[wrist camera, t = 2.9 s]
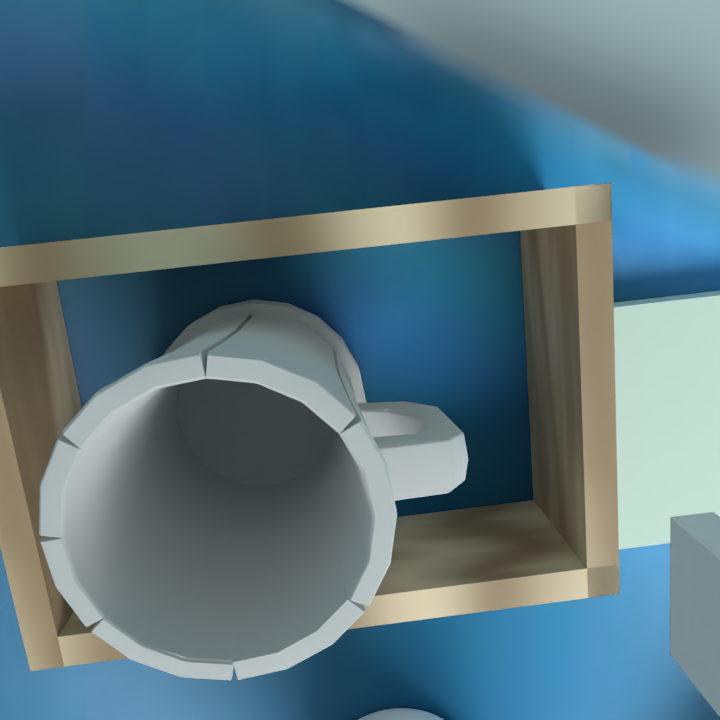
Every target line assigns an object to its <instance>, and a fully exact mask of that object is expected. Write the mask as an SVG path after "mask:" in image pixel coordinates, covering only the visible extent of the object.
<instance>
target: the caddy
mask: <svg viewBox="0 0 720 720" xmlns="http://www.w3.org/2000/svg"><path fill="white" fill-rule="evenodd" d="M512 231H520V242H521V262H522V282H523V302H524V321H525V341H526V361H527V381H528V400H529V420H530V440H531V460H532V479H533V499H534V500H530V501H522V502H514V503H506V504H498V505H490V506H482V507H474V508H466V509H458V510H450V511H442V512H434V513H426V514H418V515H410V516H402V517H397V519H396V527H395V534H394V542H393V549H392V556H391V564H390V566H389V568H388V570H387V572H386V574H385V576H384V578H383V580H382V582H381V584H380V586H379V588H378V590H377V592H376V594H375V596H374V598H373V600H372V602H371V604H370V605H369V606H366V605H364V607H365V612H364V613H363V614H362V615H361V616H360V617H359V618H358V619H357V620H356V621H355V622H354V623H353V624H352V625H351V626H350V627H349V628H348V629H354V628H362V627H370V626H377V625H385V624H393V623H400V622H408V621H415V620H423V619H431V618H438V617H446V616H454V615H461V614H469V613H477V612H484V611H492V610H499V609H507V608H515V607H522V606H530V605H538V604H545V603H553V602H561V601H568V600H576V599H583V598H591V597H599V596H606V595H614V594H620V585H619V537H618V489H617V441H616V393H615V345H614V297H613V249H612V201H611V183H604V184H595V185H585V186H576V187H567V188H557V189H548V190H538V191H529V192H519V193H510V194H500V195H491V196H482V197H472V198H463V199H453V200H444V201H434V202H425V203H416V204H406V205H397V206H387V207H378V208H368V209H359V210H349V211H340V212H331V213H321V214H312V215H302V216H293V217H283V218H274V219H265V220H255V221H246V222H236V223H227V224H217V225H208V226H198V227H189V228H180V229H170V230H161V231H151V232H142V233H132V234H123V235H114V236H104V237H95V238H85V239H76V240H66V241H57V242H47V243H38V244H29V245H19V246H10V247H0V548H1V552H2V556H3V560H4V564H5V568H6V572H7V576H8V581H9V585H10V589H11V593H12V597H13V601H14V605H15V609H16V613H17V618H18V622H19V626H20V630H21V634H22V638H23V642H24V646H25V650H26V655H27V659H28V663H29V667H30V671H34V670H41V669H49V668H57V667H64V666H72V665H79V664H87V663H95V662H102V661H110V660H118V659H125V658H128V657H126V656H125V655H124V654H122V653H121V652H119V651H118V650H116V649H115V648H114V647H112V646H111V645H109V644H108V643H107V642H105V641H104V640H102V639H101V638H100V637H98V636H97V635H95V634H94V633H92V632H91V631H92V629H93V628H94V626H95V624H96V623H97V622H95V623H93V624H92V625H90V626H88V627H86V626H85V625H84V624H83V622H82V621H81V620H80V618H79V617H78V616H77V614H76V613H75V612H74V610H73V609H72V608H71V606H70V605H69V604H68V603H67V601H66V600H65V599H64V597H63V596H62V595H61V593H60V592H59V591H58V589H57V588H56V586H55V583H54V580H53V578H52V575H51V572H50V569H49V566H48V563H47V560H46V557H45V554H44V551H43V548H42V545H41V542H40V541H41V540H42V539H43V538H44V537H45V536H40V534H39V501H40V483H41V480H42V478H43V475H44V473H45V470H46V467H47V465H48V462H49V460H50V457H51V454H52V452H53V449H54V447H55V444H56V441H57V439H58V438H59V437H61V436H62V435H63V433H62V431H63V429H64V428H65V427H66V426H67V425H68V424H69V423H70V421H71V420H72V419H73V418H74V417H75V416H76V415H77V413H78V412H79V411H80V410H81V409H82V405H81V400H80V395H79V390H78V385H77V380H76V375H75V370H74V365H73V360H72V356H71V351H70V346H69V341H68V336H67V331H66V326H65V321H64V316H63V311H62V306H61V302H60V297H59V292H58V287H57V282H56V281H59V280H68V279H78V278H87V277H96V276H105V275H115V274H124V273H133V272H142V271H151V270H161V269H170V268H179V267H188V266H198V265H207V264H216V263H225V262H235V261H244V260H253V259H262V258H272V257H281V256H290V255H299V254H308V253H318V252H327V251H336V250H345V249H355V248H364V247H373V246H382V245H392V244H401V243H410V242H419V241H429V240H438V239H447V238H456V237H466V236H475V235H484V234H493V233H502V232H512Z"/></svg>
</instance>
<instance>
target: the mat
mask: <svg viewBox="0 0 720 720" xmlns="http://www.w3.org/2000/svg"><path fill="white" fill-rule="evenodd" d="M614 345H615V393H616V441H617V489H618V537H619V549H626V548H634V547H642V546H649V545H657V544H665V543H670V517H675V516H683V515H691V514H700V513H708V512H714V513H715V514H717V515H718V516H719V517H720V291H711V292H702V293H693V294H684V295H676V296H667V297H658V298H649V299H640V300H631V301H623V302H614Z"/></svg>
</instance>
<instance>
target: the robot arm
mask: <svg viewBox="0 0 720 720" xmlns="http://www.w3.org/2000/svg"><path fill="white" fill-rule="evenodd" d="M670 655H671V656H672V657H673V659H674V660H675V661H676V662H677V664H678V665H679V666H680V667H681V669H682V670H683V671H684V673H685V674H686V675H687V676H688V678H689V679H690V680H691V681H692V683H693V684H694V685H695V686H696V688H697V689H698V690H699V691H700V693H701V694H702V695H703V697H704V698H705V699H706V700H707V702H708V703H709V704H710V705H711V707H712V708H713V709H714V710H715V712H716V713H717V714H718V715H719V717H720V517H719V516H718V515H717V514H715V513H714V512H708V513H700V514H691V515H683V516H675V517H670Z"/></svg>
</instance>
